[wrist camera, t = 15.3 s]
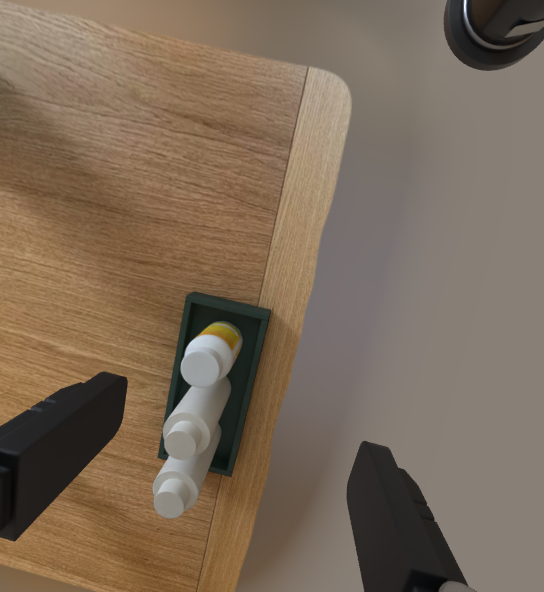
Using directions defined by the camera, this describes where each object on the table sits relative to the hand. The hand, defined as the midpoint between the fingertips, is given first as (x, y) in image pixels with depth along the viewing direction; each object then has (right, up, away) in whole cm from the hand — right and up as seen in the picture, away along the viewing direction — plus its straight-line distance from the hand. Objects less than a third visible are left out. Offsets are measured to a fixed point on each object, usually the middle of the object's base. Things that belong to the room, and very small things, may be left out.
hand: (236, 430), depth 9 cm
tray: (-7, -7, +30) cm, 32 cm away
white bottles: (-8, -11, +30) cm, 33 cm away
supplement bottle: (-5, -1, +28) cm, 29 cm away
